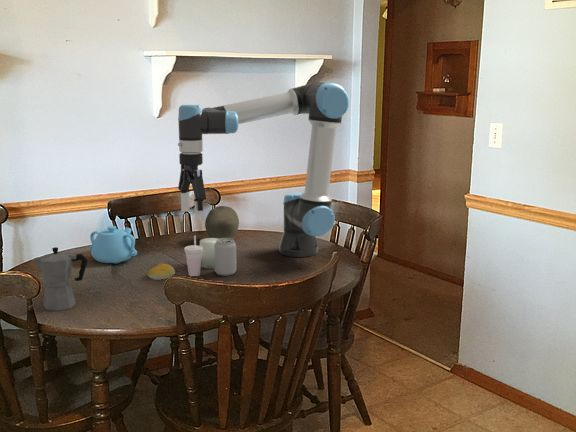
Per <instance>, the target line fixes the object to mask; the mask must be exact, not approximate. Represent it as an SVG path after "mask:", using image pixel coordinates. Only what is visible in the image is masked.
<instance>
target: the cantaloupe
mask: <svg viewBox="0 0 576 432" xmlns="http://www.w3.org/2000/svg"><path fill="white" fill-rule="evenodd" d="M239 226H240V220H239V216H238V212H236V210H235V209H234V208H232V207H231V206H227V205H219V206H215V207H214V208H212V209H211V210H210V211H209V212H208V214H207V215H206V218H205V222H204V227H205V230H206V233H207V235H208V238H218V239H220V238H231V239H233V238H234V237H235V236H236V235H237V233H238V230H239Z"/></svg>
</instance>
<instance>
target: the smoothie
mask: <svg viewBox="0 0 576 432" xmlns="http://www.w3.org/2000/svg"><path fill="white" fill-rule="evenodd" d="M193 240H194V241H193V243H194V244H192V245H187V246H185V247H184V249H183V250H184V253H185V259H186V266H187V271H188V276H189V275H190V276H189V277H192V276H196V277H198V276H200V275H201V268H202V267H201V258H202V251H203V247H202V246H200V245H197V236H196V235H193Z"/></svg>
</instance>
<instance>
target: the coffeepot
mask: <svg viewBox="0 0 576 432" xmlns="http://www.w3.org/2000/svg"><path fill="white" fill-rule="evenodd" d="M51 249H52V253H47V254H44V255H42V256H39V257H38V256H37V257H35V258H33V259H32V262H34V263H35V265H37V267H38V268H39V270H40V271H41V272H42V276H43V279H44V281H45V286H44V295H43V308H44V309H45V310H47V311H51V312H60V311H66V310H68V309H71V308H73V307H74V306H75V305H77V303H76V298H75V295H74V294H75V293H74V291H73V286H72V284H71V281H70V279H71V278H72V269H73V268H72V267H73V262H76V261H81V263H80V270H79V272H78V277H74V281H75V282H81V281H82V280H83V279H84V275H85V273H86V268H87V266H88V262H89V261H88V258H87V257H86V256H85V255H84V254H83V253H75V254H74V253H73V254H72V253H69V252H68V253H66V252H59V247H52V248H51Z"/></svg>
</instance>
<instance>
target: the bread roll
mask: <svg viewBox="0 0 576 432" xmlns="http://www.w3.org/2000/svg"><path fill="white" fill-rule="evenodd" d="M175 273H176V272H175V268H174V267H173V266H172V265H170V264H168V263H159V264H157V265H156V266H154V267H152V268H150V269H149V270H148V271H147V276H148V277H149V279H151V280H154V281H155V280H156V281H157V280H158V281H160V280H161V279H163V280H167V278H168V279H170V278H172V277H173V276H175ZM171 276H172V277H171ZM169 277H170V278H169Z"/></svg>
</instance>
